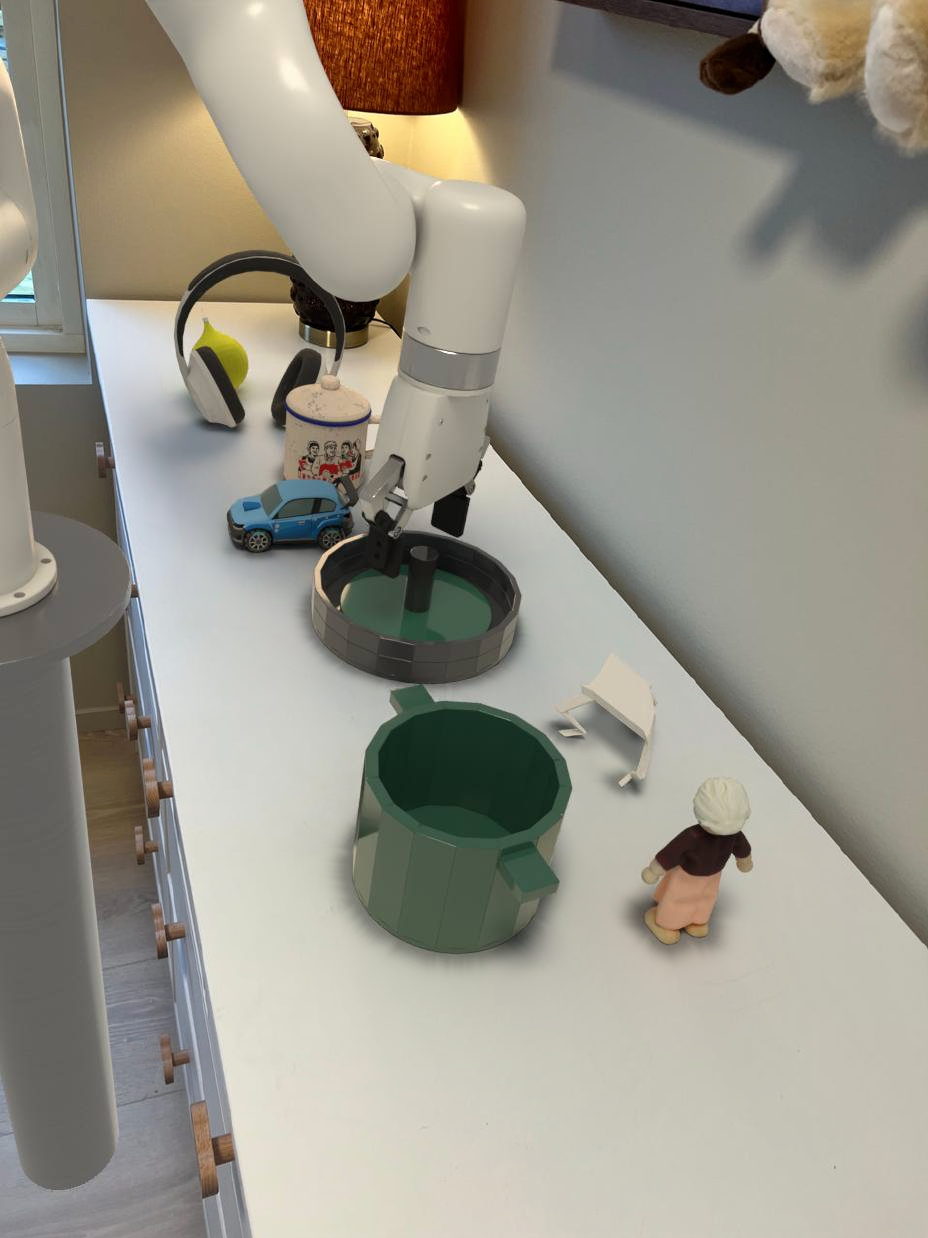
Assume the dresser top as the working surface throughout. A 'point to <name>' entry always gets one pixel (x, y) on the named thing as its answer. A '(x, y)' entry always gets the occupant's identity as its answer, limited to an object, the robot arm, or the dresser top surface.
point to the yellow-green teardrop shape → (225, 352)
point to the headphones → (205, 367)
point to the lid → (417, 602)
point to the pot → (457, 822)
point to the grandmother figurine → (699, 861)
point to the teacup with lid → (327, 432)
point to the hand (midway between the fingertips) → (415, 550)
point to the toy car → (294, 514)
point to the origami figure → (618, 705)
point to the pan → (407, 655)
